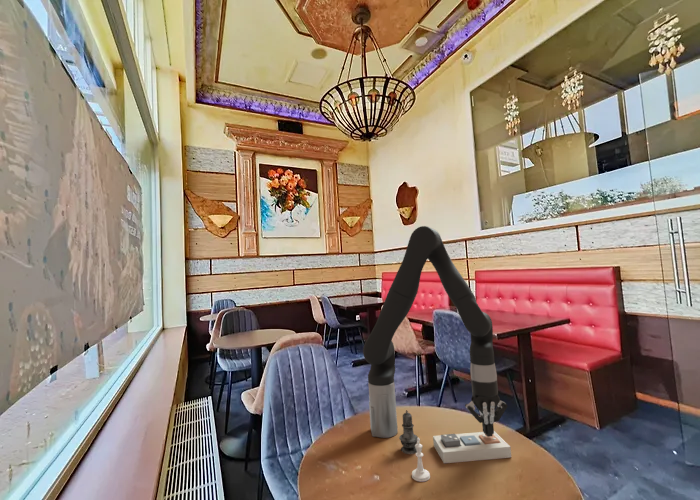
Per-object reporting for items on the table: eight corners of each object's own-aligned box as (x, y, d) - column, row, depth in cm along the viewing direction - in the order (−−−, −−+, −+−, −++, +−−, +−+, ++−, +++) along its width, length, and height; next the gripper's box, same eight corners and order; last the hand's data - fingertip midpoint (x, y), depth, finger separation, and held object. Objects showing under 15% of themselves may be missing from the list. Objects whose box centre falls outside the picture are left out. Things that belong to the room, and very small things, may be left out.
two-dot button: (486, 450, 100) (485, 441, 100) (479, 443, 104) (478, 434, 104) (500, 449, 100) (499, 440, 100) (493, 442, 104) (492, 433, 104)
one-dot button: (466, 452, 99) (465, 442, 99) (460, 444, 104) (460, 435, 104) (480, 451, 99) (479, 441, 100) (474, 443, 104) (473, 434, 104)
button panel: (443, 463, 96) (443, 452, 96) (433, 445, 106) (432, 436, 106) (511, 457, 97) (510, 446, 97) (495, 440, 107) (494, 430, 107)
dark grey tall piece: (419, 455, 101) (416, 414, 102) (399, 454, 102) (396, 413, 103) (419, 445, 107) (416, 406, 108) (400, 444, 108) (397, 406, 109)
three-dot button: (446, 450, 99) (445, 441, 99) (441, 443, 103) (440, 434, 104) (460, 449, 99) (460, 439, 99) (455, 442, 104) (454, 433, 104)
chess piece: (431, 472, 92) (429, 435, 93) (428, 483, 87) (425, 443, 88) (414, 469, 94) (411, 432, 95) (409, 479, 89) (407, 440, 90)
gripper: (498, 372, 107) (503, 428, 106) (458, 375, 107) (462, 431, 106) (510, 379, 100) (516, 439, 99) (467, 382, 99) (472, 443, 98)
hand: (488, 435), depth 102 cm, fingers closed
